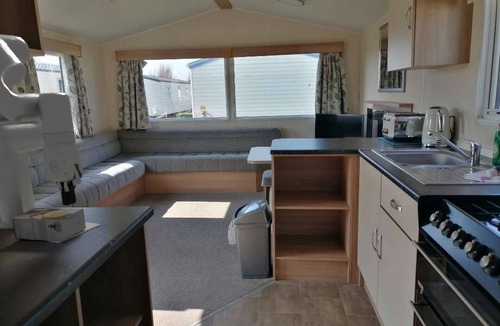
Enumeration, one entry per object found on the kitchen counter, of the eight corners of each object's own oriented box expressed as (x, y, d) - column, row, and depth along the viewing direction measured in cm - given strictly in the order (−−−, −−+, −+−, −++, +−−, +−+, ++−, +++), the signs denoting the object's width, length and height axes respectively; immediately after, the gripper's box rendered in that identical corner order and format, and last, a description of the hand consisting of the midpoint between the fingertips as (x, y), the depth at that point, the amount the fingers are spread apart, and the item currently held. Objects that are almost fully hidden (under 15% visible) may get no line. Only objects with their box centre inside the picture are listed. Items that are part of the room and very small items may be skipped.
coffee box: (86, 229, 107) (39, 227, 110) (83, 208, 105) (36, 207, 109) (65, 241, 98) (14, 239, 101) (61, 218, 97) (10, 217, 100)
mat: (23, 235, 105) (23, 234, 105) (66, 219, 117) (66, 218, 117) (58, 243, 98) (58, 241, 98) (100, 225, 110) (100, 224, 110)
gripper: (29, 140, 99) (40, 205, 102) (65, 141, 92) (76, 210, 96) (54, 137, 105) (64, 198, 109) (90, 137, 99) (99, 202, 102)
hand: (69, 203), depth 102 cm, fingers closed
